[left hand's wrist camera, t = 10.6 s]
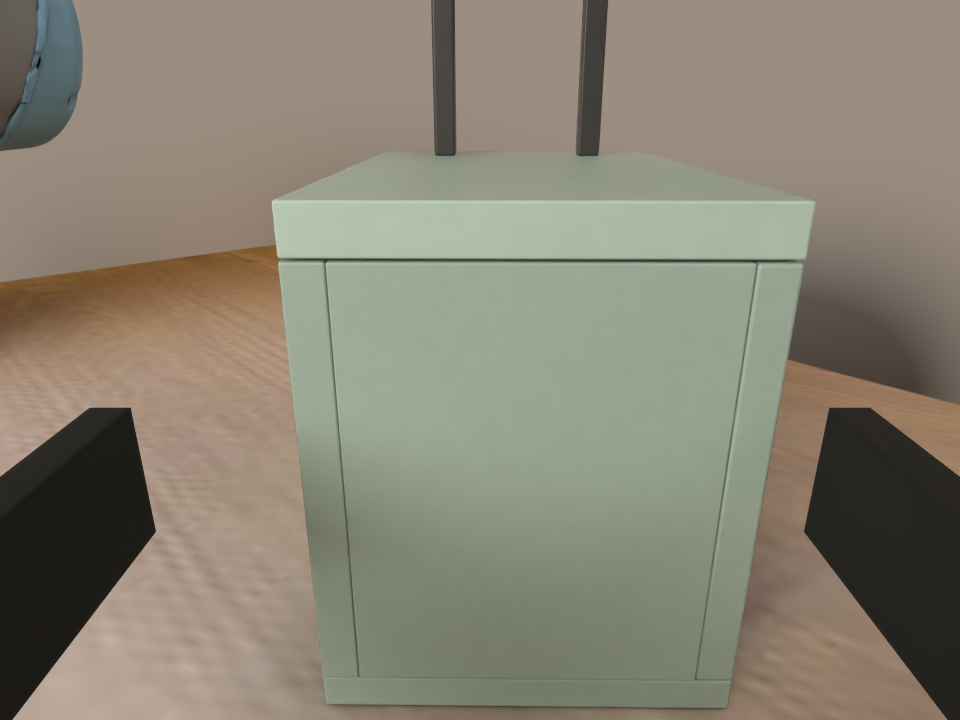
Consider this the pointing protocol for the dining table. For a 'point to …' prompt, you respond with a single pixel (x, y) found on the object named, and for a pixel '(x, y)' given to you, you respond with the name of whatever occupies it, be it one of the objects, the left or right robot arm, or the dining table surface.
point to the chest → (534, 472)
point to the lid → (536, 193)
